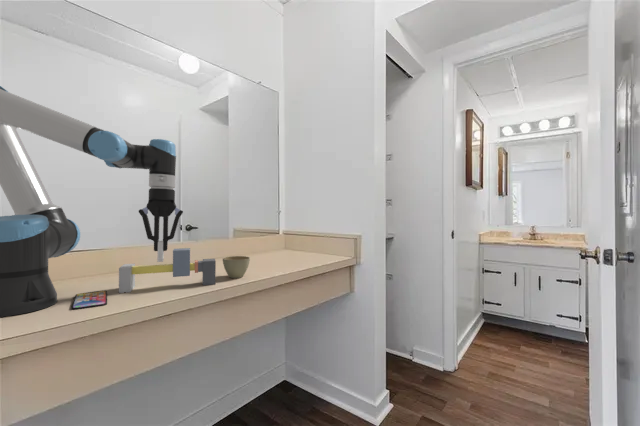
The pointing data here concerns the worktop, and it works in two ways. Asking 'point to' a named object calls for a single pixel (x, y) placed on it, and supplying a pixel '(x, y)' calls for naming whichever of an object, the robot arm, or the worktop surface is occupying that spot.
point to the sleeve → (181, 262)
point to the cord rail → (130, 270)
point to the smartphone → (89, 300)
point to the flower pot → (236, 265)
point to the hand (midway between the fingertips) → (160, 261)
